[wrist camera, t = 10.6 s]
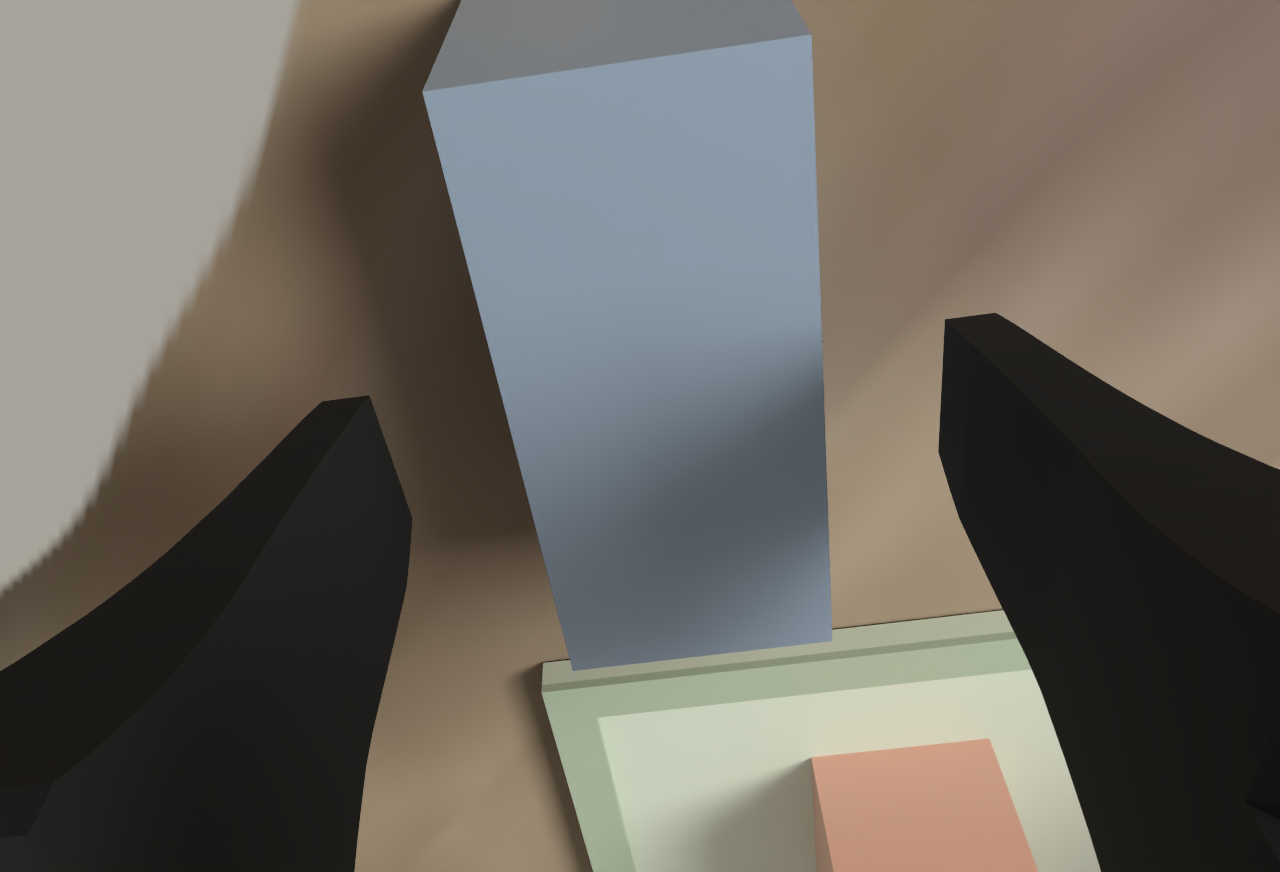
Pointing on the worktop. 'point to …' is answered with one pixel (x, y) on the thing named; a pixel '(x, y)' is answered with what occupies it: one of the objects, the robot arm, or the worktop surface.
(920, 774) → the coral brick
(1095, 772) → the robot arm
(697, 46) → the slate brick
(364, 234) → the worktop surface
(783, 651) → the baseplate
